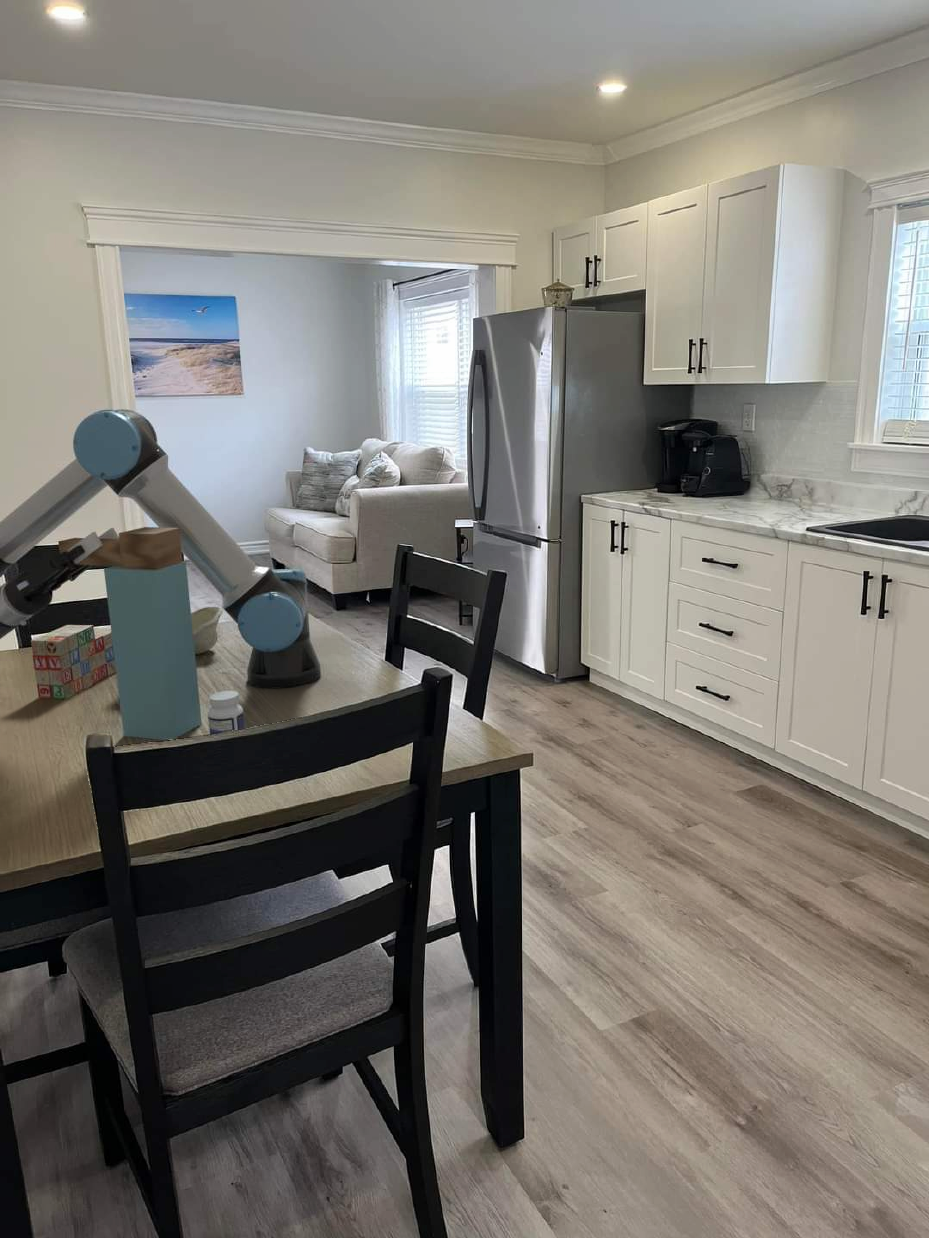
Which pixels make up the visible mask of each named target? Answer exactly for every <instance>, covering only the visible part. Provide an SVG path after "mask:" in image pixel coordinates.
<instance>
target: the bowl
mask: <svg viewBox="0 0 929 1238" xmlns="http://www.w3.org/2000/svg"><path fill="white" fill-rule="evenodd" d="M223 612H224V609H223V608H222V607H218V606H207V607H203V608H200V609H198V610H195V611H193V612H191V619H192V629H193V639H194V650H195V655H202V654H203V653H205V652H209V650H211V649H212V648H214V646H215V645H216V644H217V642H218V632H217V627H218V624H219V622H220V621H219V620H220V618H221V616H222V615H223Z"/></svg>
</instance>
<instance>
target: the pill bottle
mask: <svg viewBox="0 0 929 1238" xmlns="http://www.w3.org/2000/svg"><path fill="white" fill-rule="evenodd" d="M239 696H240V695H239V693H238V691H236V690H235V691H234V690H224V691H222V690H221V691H218V692H214V693H213V694H211V695H209V704H210V705H211V708H209V709H208V712H207V717H208V718H207V719H208V729H209V730H208V731H209V735H212V734H218V733H222V732H227V731H232V730H243V729H245V730H246V727H245V716H244V709H243V707H242V706H241V705H240V704H238V703H239V701H240V697H239Z"/></svg>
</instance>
